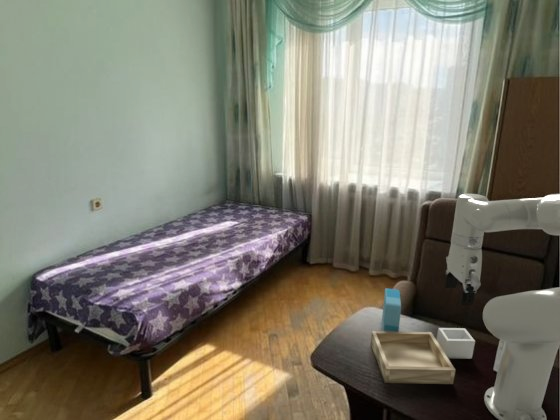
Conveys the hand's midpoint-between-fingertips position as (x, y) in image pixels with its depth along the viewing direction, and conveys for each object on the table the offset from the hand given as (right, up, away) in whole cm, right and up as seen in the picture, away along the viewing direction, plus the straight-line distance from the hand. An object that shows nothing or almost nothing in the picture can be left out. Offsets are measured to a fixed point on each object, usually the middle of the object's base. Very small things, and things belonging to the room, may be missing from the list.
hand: (458, 295), depth 101 cm
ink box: (+12, -21, -5) cm, 25 cm away
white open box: (+1, -18, +5) cm, 19 cm away
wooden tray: (-14, -19, 0) cm, 24 cm away
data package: (-15, -15, +16) cm, 26 cm away
